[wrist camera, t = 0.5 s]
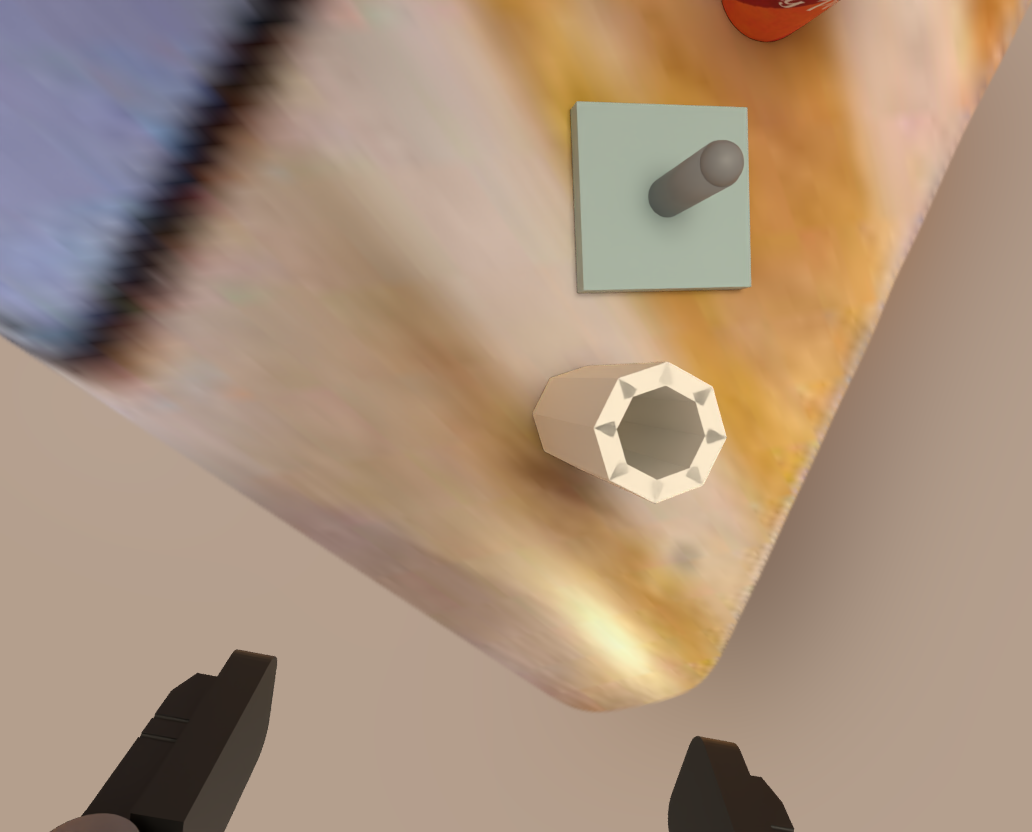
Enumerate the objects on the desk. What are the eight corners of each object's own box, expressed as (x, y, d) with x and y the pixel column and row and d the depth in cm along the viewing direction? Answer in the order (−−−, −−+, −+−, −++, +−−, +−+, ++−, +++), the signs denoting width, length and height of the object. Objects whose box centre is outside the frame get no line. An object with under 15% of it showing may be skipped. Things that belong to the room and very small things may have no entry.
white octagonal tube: (523, 386, 38) (582, 390, 27) (612, 357, 39) (702, 350, 28) (552, 477, 39) (619, 516, 28) (638, 446, 39) (736, 472, 29)
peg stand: (570, 109, 38) (623, 36, 29) (736, 115, 40) (828, 48, 31) (577, 292, 38) (631, 270, 30) (740, 289, 40) (831, 267, 32)
